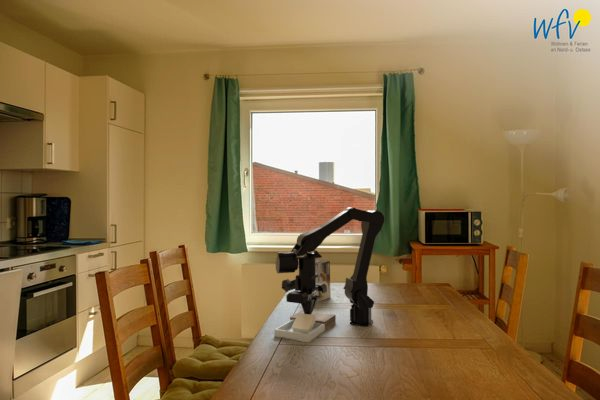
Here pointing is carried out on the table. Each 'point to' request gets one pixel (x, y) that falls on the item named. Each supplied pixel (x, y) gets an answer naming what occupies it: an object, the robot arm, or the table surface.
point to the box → (288, 333)
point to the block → (303, 323)
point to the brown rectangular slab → (321, 318)
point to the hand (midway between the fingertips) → (307, 318)
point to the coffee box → (323, 278)
